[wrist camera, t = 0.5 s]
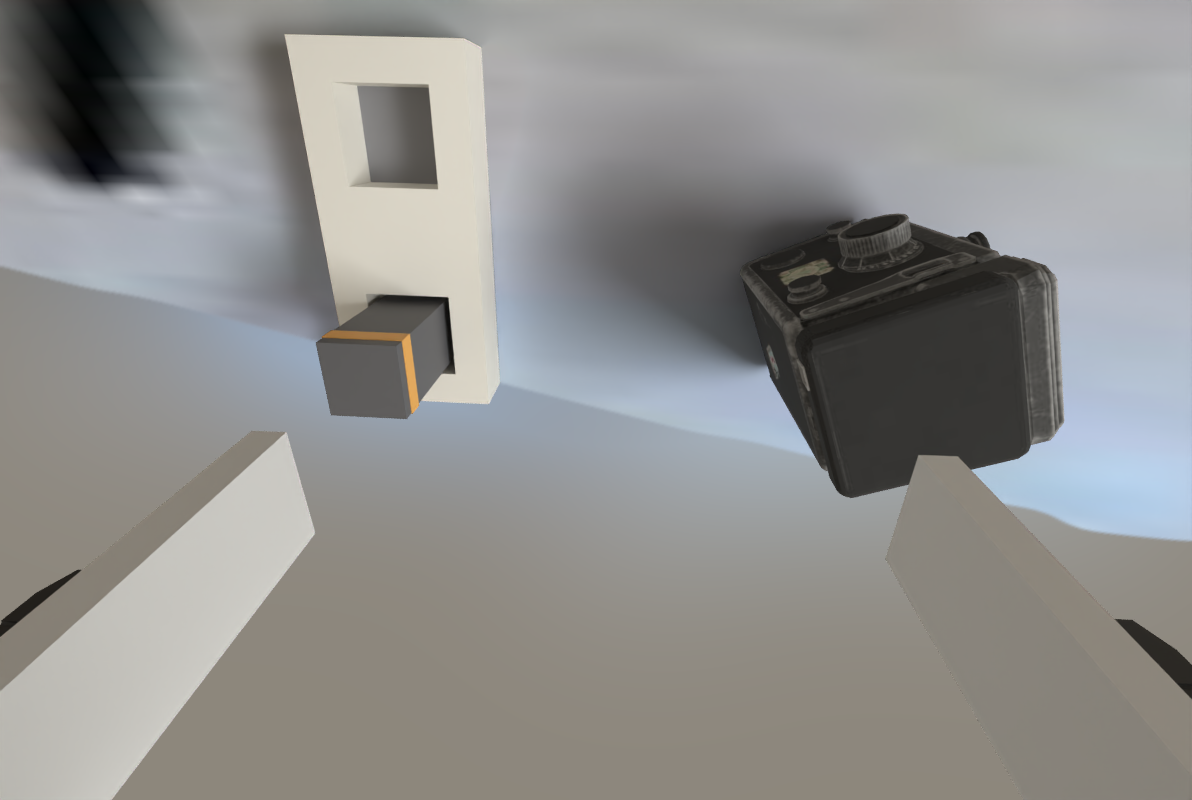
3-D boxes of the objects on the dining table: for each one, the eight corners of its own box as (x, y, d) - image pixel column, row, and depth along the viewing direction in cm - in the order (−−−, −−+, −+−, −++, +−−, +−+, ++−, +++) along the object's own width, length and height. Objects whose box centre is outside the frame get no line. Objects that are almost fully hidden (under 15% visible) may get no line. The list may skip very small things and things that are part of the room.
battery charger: (319, 43, 30) (181, 6, 21) (481, 47, 30) (413, 11, 21) (374, 376, 39) (294, 453, 30) (500, 382, 39) (458, 462, 30)
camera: (932, 334, 36) (1115, 459, 22) (770, 386, 38) (847, 528, 24) (907, 173, 32) (1112, 206, 18) (727, 242, 34) (791, 317, 20)
